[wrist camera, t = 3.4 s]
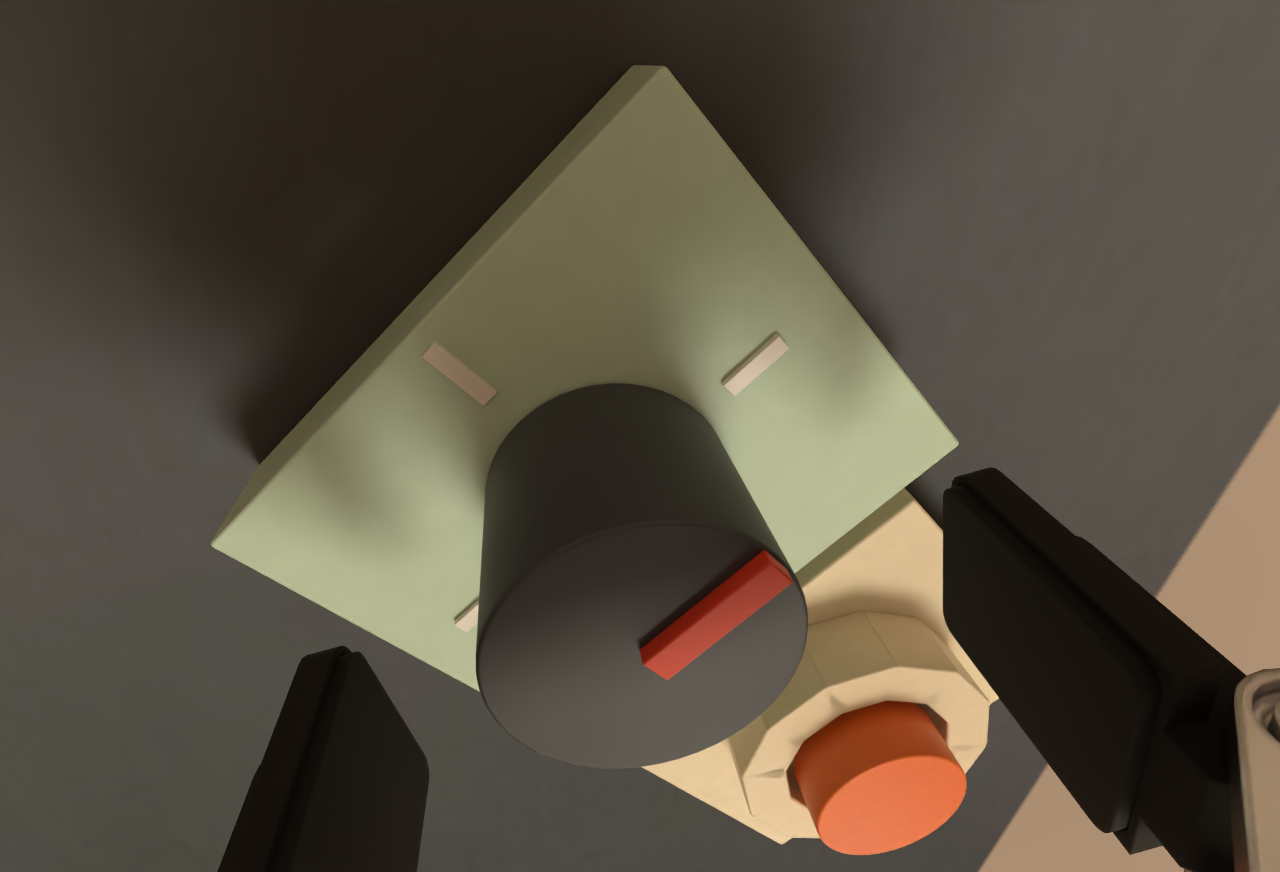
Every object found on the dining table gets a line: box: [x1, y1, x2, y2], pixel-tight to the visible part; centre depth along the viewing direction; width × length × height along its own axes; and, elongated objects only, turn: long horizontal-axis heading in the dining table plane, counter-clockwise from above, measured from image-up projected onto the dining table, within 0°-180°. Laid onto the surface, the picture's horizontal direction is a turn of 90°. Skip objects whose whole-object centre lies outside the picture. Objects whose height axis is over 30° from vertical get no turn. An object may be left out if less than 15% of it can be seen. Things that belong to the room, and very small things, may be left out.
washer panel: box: [211, 65, 959, 692], centre depth 15 cm, size 12×10×3 cm
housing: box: [642, 488, 999, 844], centre depth 20 cm, size 11×9×4 cm
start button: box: [793, 700, 967, 855], centre depth 18 cm, size 4×4×2 cm
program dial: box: [476, 383, 808, 768], centre depth 12 cm, size 5×5×5 cm
